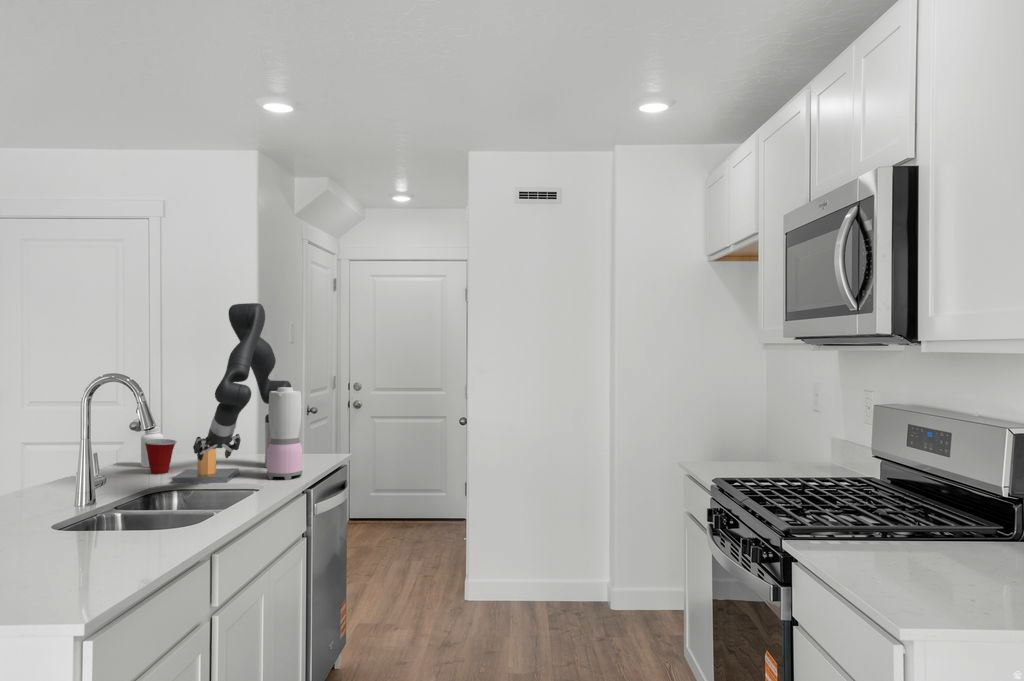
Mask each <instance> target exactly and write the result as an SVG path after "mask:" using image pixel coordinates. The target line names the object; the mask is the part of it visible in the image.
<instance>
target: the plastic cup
mask: <svg viewBox="0 0 1024 681" xmlns="http://www.w3.org/2000/svg"><path fill="white" fill-rule="evenodd" d="M144 443H145V445H146V450H147V455H148V461H149V465H150V467H149V470H150V473H151V474H152V475H160V474H161V475H162V474H167V473H169V471H170V465H171V461H172V456H173V451H174V449H175V448H174V447H175V445H176V444H177V443H178V442H177V441H176V440H175V439H170V438H169V439H168V438H164V439H149V440H145V441H144Z"/></svg>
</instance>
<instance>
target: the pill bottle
mask: <svg viewBox="0 0 1024 681" xmlns="http://www.w3.org/2000/svg"><path fill="white" fill-rule="evenodd" d="M160 432H161V428H160V426H157V425H155V428H154V429H152V430H150V431H145V430H144V434H143V435H141V437H140V464H141V465H140V466H141V467H142V468H150V465H149V461H148V455H147V450H146V445H145V443H144V441H145V440H149V439H165V436H164V434H162V433H160Z"/></svg>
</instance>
